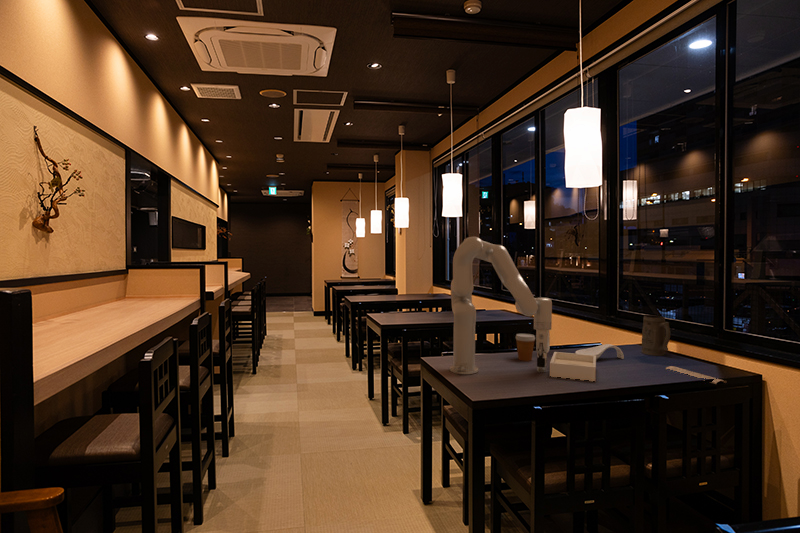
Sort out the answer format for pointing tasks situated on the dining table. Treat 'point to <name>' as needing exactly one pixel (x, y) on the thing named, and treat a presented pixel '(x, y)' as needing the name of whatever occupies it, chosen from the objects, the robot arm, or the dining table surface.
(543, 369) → the small plastic bottle
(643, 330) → the beer stein
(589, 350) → the spoon rest
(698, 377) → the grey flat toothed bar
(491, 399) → the dining table surface
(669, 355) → the dining table surface
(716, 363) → the dining table surface
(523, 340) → the disposable coffee cup
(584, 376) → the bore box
